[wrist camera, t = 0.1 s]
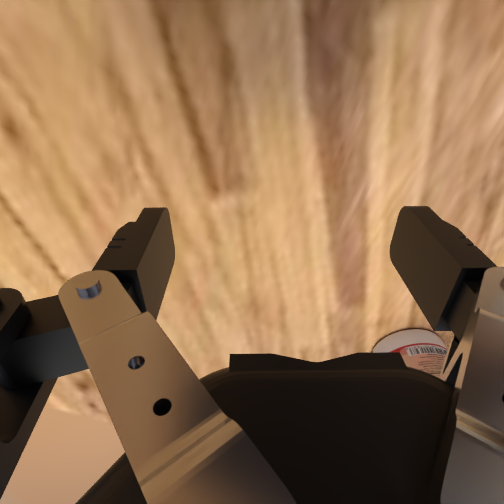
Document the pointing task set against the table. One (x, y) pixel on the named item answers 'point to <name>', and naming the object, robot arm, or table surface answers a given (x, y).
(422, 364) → the fruit juice
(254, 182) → the table surface
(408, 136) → the table surface
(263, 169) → the table surface
